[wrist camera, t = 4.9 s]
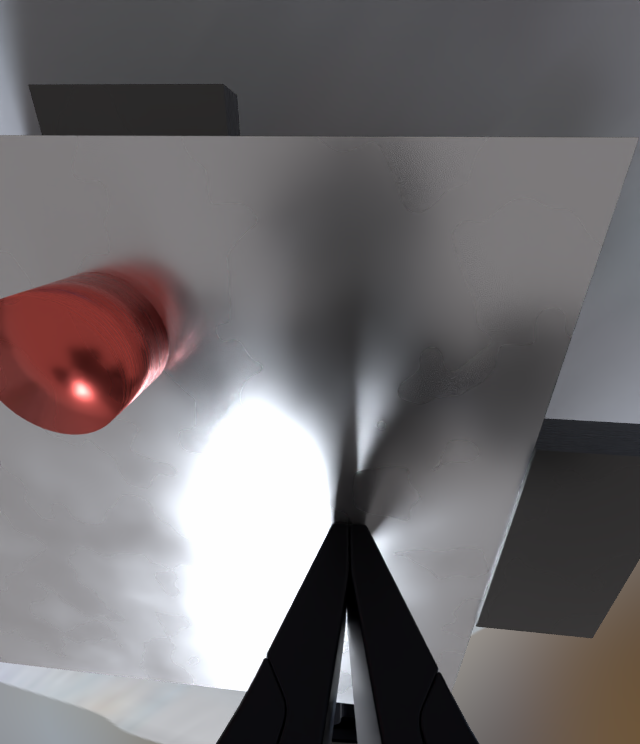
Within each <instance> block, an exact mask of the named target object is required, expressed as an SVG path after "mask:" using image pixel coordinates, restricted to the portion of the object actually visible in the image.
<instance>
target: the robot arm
mask: <svg viewBox="0 0 640 744" xmlns="http://www.w3.org/2000/svg"><path fill="white" fill-rule="evenodd" d="M346 615H347V633H348V644H349V655H350V666H351V677H352V688H353V699H354V704H347V703H339V702H336V701H337V693H338V685H339V677H340V669H341V661H342V653H343V645H344V637H345V628H346ZM438 670H439V668H438V666H437V664H436V662H435V660H434V658H433V656H432V654H431V652H430V650H429V648H428V646H427V644H426V642H425V640H424V638H423V636H422V634H421V632H420V630H419V628H418V626H417V624H416V622H415V620H414V618H413V616H412V614H411V612H410V610H409V608H408V606H407V604H406V602H405V600H404V598H403V596H402V594H401V592H400V590H399V588H398V586H397V584H396V582H395V580H394V578H393V576H392V574H391V572H390V571H389V569H388V567H387V565H386V563H385V561H384V559H383V557H382V555H381V553H380V551H379V549H378V547H377V545H376V543H375V541H374V539H373V537H372V535H371V533H370V531H369V529H368V527H367V526H366V525H365V524H350V526H349V525H348V524H347V523H336V522H335V523H332V524H331V526H330V528H329V530H328V532H327V534H326V536H325V538H324V540H323V542H322V544H321V546H320V548H319V550H318V552H317V554H316V556H315V558H314V560H313V562H312V564H311V566H310V568H309V570H308V572H307V574H306V576H305V578H304V580H303V582H302V584H301V586H300V588H299V590H298V592H297V594H296V596H295V598H294V600H293V602H292V604H291V606H290V608H289V610H288V612H287V614H286V616H285V618H284V620H283V622H282V624H281V626H280V628H279V630H278V632H277V634H276V636H275V638H274V640H273V642H272V644H271V646H270V648H269V650H268V652H267V654H266V658H264V659H263V661H262V663H261V665H260V667H259V669H258V671H257V673H256V675H255V677H254V679H253V681H252V683H251V684H250V686H249V688H248V690H247V692H246V694H245V696H244V698H243V699H242V701H241V703H240V705H239V707H238V708H237V710H236V712H235V713H234V715H233V717H232V718H231V720H230V722H229V723H228V725H227V727H226V728H225V730H224V732H223V733H222V735H221V736H220V738H219V740H218V741H217V743H216V744H479V743H478V741H477V739H476V738H475V736H474V734H473V732H472V731H471V729H470V727H469V726H468V724H467V722H466V720H465V718H464V716H463V714H462V712H461V710H460V709H459V707H458V705H457V703H456V701H455V699H454V697H453V695H452V694H451V692H450V690H449V688H448V686H447V684H446V682H445V680H444V678H443V676H442V674H441V673H440V672H438Z"/></svg>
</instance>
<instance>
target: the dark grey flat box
mask: <svg viewBox="0 0 640 744" xmlns="http://www.w3.org/2000/svg"><path fill="white" fill-rule="evenodd" d="M29 89H30V92H31V96H32V100H33V103H34V107H35V110H36V114H37V118H38V121H39V125H40V129H41V132H42V136H240V129H239V115H238V102H237V95H236V94H235V93H234V92H232V91H231V90H230V89H229V88H227V87H226V86H225V85H224V84H106V85H29Z"/></svg>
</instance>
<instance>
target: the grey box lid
mask: <svg viewBox="0 0 640 744" xmlns="http://www.w3.org/2000/svg"><path fill="white" fill-rule="evenodd" d="M638 139H639V138H636V137H339V136H42V135H0V662H5V663H14V664H22V665H30V666H39V667H47V668H55V669H64V670H72V671H80V672H89V673H97V674H105V675H114V676H122V677H130V678H139V679H147V680H155V681H164V682H172V683H180V684H189V685H197V686H205V687H214V688H222V689H231V690H239V691H247V690H248V688H249V686H250V684H251V683H252V681H253V679H254V677H255V675H256V673H257V671H258V669H259V667H260V665H261V663H262V661H263V659H264V658H266V654H267V652H268V650H269V648H270V646H271V644H272V642H273V640H274V638H275V636H276V634H277V632H278V630H279V628H280V626H281V624H282V622H283V620H284V618H285V616H286V614H287V612H288V610H289V608H290V606H291V604H292V602H293V600H294V598H295V596H296V594H297V592H298V590H299V588H300V586H301V584H302V582H303V580H304V578H305V576H306V574H307V572H308V570H309V568H310V566H311V564H312V562H313V560H314V558H315V556H316V554H317V552H318V550H319V548H320V546H321V544H322V542H323V540H324V538H325V536H326V534H327V532H328V530H329V528H330V526H331V524H332V523H335V522H336V523H347V524H348V525H349V526H350V524H365V525H366V526H367V527H368V529H369V531H370V533H371V535H372V537H373V539H374V541H375V543H376V545H377V547H378V549H379V551H380V553H381V555H382V557H383V559H384V561H385V563H386V565H387V567H388V569H389V571H390V572H391V574H392V576H393V578H394V580H395V582H396V584H397V586H398V588H399V590H400V592H401V594H402V596H403V598H404V600H405V602H406V604H407V606H408V608H409V610H410V612H411V614H412V616H413V618H414V620H415V622H416V624H417V626H418V628H419V630H420V632H421V634H422V636H423V638H424V640H425V642H426V644H427V646H428V648H429V650H430V652H431V654H432V656H433V658H434V660H435V662H436V664H437V666H438V668H439V670H438V672H440V673H441V674H442V676H443V678H444V680H445V682H446V684H447V686H448V688H449V690H450V692H451V693H452V689H453V686H454V684H455V681H456V678H457V674H458V671H459V669H460V666H461V663H462V660H463V657H464V654H465V651H466V648H467V645H468V642H469V639H470V636H471V633H472V630H473V627H474V624H476V626H477V627H487V628H497V629H507V630H516V631H527V632H536V633H546V634H556V635H566V636H575V637H586V638H593V636H594V634H595V633H596V631H597V629H598V628H599V626H600V624H601V623H602V621H603V619H604V618H605V616H606V614H607V612H608V611H609V609H610V608H611V606H612V604H613V603H614V601H615V599H616V598H617V596H618V594H619V593H620V591H621V589H622V588H623V586H624V584H625V583H626V581H627V579H628V577H629V576H630V574H631V573H632V571H633V569H634V567H635V566H636V564H637V562H638V561H639V559H640V424H630V423H613V422H596V421H579V420H562V419H545V418H544V417H545V414H546V411H547V408H548V405H549V403H550V400H551V397H552V394H553V391H554V388H555V385H556V382H557V379H558V376H559V373H560V370H561V367H562V364H563V361H564V358H565V355H566V352H567V349H568V346H569V343H570V340H571V337H572V334H573V331H574V329H575V326H576V323H577V320H578V317H579V314H580V311H581V308H582V305H583V302H584V299H585V296H586V293H587V290H588V287H589V284H590V281H591V278H592V275H593V272H594V269H595V266H596V263H597V260H598V257H599V255H600V252H601V249H602V246H603V243H604V240H605V237H606V234H607V231H608V228H609V225H610V222H611V219H612V216H613V213H614V210H615V207H616V204H617V201H618V198H619V195H620V192H621V189H622V186H623V184H624V181H625V178H626V175H627V172H628V169H629V166H630V163H631V160H632V157H633V154H634V151H635V148H636V145H637V142H638ZM336 702H339V703H347V704H354V699H353V688H352V677H351V666H350V655H349V644H348V633H347V615H346V628H345V637H344V645H343V653H342V661H341V669H340V677H339V685H338V693H337V701H336Z"/></svg>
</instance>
